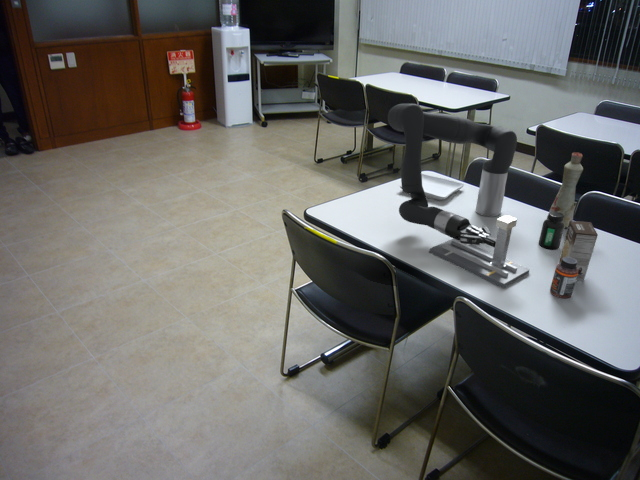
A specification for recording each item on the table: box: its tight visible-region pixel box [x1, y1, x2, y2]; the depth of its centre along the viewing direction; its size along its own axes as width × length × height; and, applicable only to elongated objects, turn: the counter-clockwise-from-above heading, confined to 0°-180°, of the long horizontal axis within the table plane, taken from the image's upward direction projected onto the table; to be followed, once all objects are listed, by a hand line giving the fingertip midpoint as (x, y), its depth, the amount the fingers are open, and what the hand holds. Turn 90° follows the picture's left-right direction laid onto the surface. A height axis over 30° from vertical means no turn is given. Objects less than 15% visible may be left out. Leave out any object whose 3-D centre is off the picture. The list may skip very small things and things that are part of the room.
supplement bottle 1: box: [538, 211, 565, 251], centre depth 178 cm, size 7×7×12 cm
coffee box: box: [558, 220, 598, 282], centre depth 161 cm, size 9×6×16 cm
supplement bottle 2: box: [549, 257, 578, 299], centre depth 151 cm, size 6×6×11 cm
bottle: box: [546, 152, 584, 229], centre depth 191 cm, size 9×9×28 cm
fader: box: [490, 214, 518, 269], centre depth 159 cm, size 5×4×16 cm
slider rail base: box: [428, 238, 530, 289], centre depth 168 cm, size 14×28×3 cm, turn 40°
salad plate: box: [399, 173, 465, 201], centre depth 224 cm, size 21×21×3 cm
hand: (497, 244), depth 161 cm, fingers closed
